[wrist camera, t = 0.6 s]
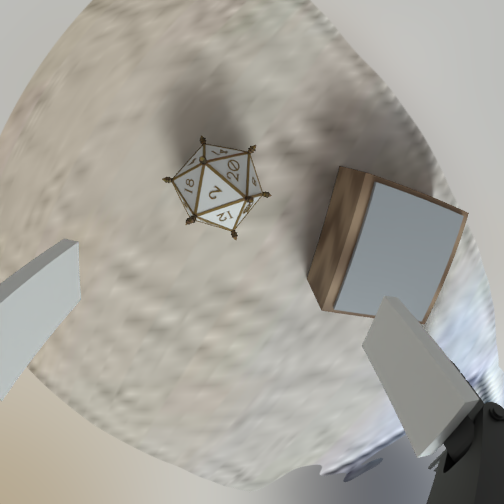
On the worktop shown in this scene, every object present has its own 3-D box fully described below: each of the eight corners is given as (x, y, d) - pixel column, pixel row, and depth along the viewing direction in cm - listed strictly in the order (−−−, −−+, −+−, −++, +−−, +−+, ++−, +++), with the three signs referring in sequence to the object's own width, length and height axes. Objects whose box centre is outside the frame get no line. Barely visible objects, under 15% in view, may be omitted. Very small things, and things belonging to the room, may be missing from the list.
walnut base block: (339, 166, 29) (367, 172, 22) (433, 199, 31) (471, 214, 24) (306, 278, 34) (322, 312, 27) (398, 295, 35) (426, 326, 28)
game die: (211, 165, 33) (179, 107, 23) (283, 181, 31) (274, 119, 21) (178, 237, 31) (130, 197, 21) (255, 262, 29) (231, 225, 19)
